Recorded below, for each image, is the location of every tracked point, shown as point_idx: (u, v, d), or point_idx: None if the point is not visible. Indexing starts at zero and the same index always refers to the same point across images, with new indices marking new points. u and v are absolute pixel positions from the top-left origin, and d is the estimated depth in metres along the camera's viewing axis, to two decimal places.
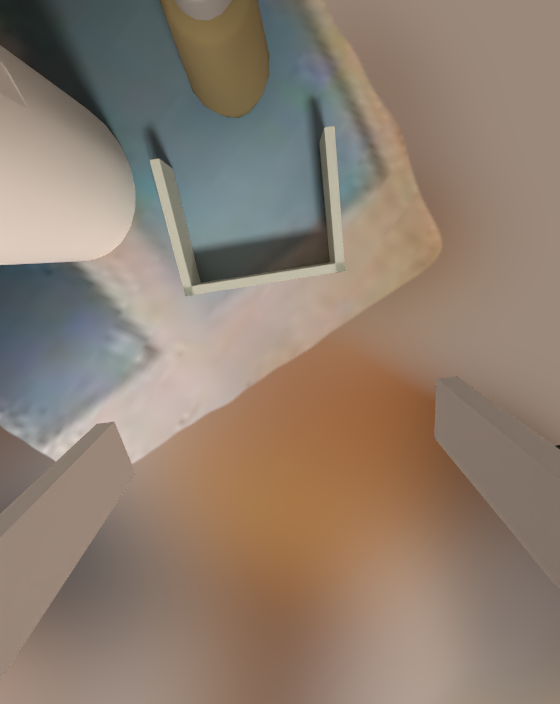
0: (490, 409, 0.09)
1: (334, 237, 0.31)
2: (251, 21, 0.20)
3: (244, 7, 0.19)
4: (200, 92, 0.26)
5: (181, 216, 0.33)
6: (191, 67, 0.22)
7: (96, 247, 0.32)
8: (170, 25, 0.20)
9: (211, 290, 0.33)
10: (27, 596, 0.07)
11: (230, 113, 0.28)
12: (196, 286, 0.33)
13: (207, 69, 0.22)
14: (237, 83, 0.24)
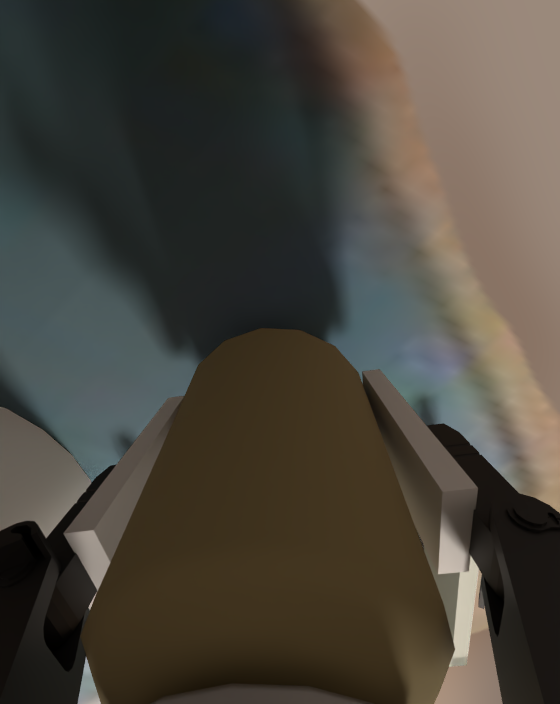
0: (391, 395, 0.10)
1: (456, 632, 0.17)
2: None
3: None
4: None
5: None
6: None
7: None
8: None
9: None
10: None
11: None
12: None
13: None
14: None
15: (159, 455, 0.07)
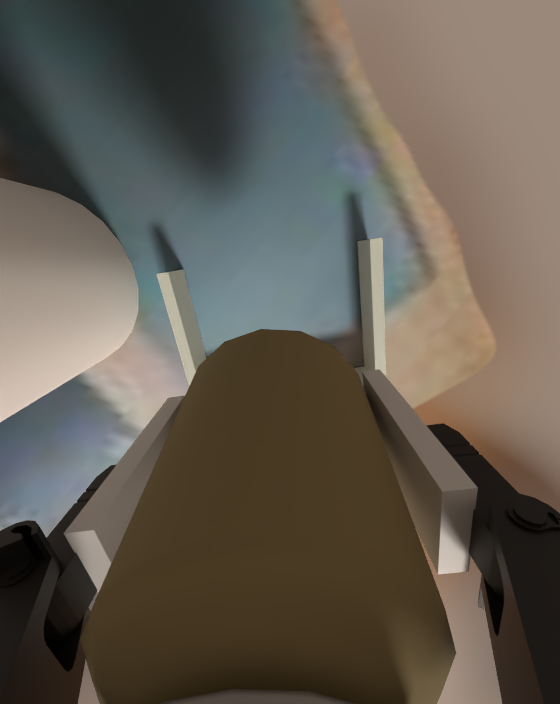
0: (391, 395, 0.10)
1: (376, 355, 0.26)
2: None
3: None
4: None
5: (193, 323, 0.28)
6: None
7: (93, 364, 0.27)
8: None
9: None
10: None
11: None
12: None
13: None
14: None
15: (159, 457, 0.07)
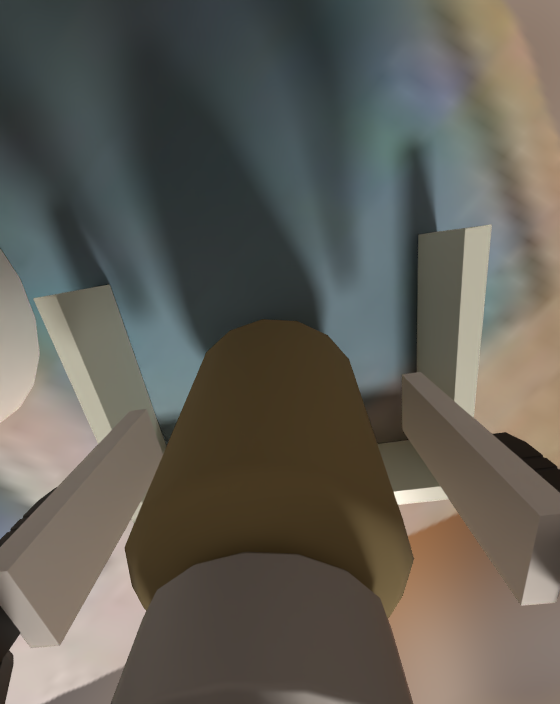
0: (443, 401, 0.09)
1: None
2: None
3: None
4: None
5: (128, 377, 0.16)
6: None
7: None
8: None
9: None
10: (84, 562, 0.08)
11: None
12: None
13: None
14: None
15: (178, 420, 0.08)
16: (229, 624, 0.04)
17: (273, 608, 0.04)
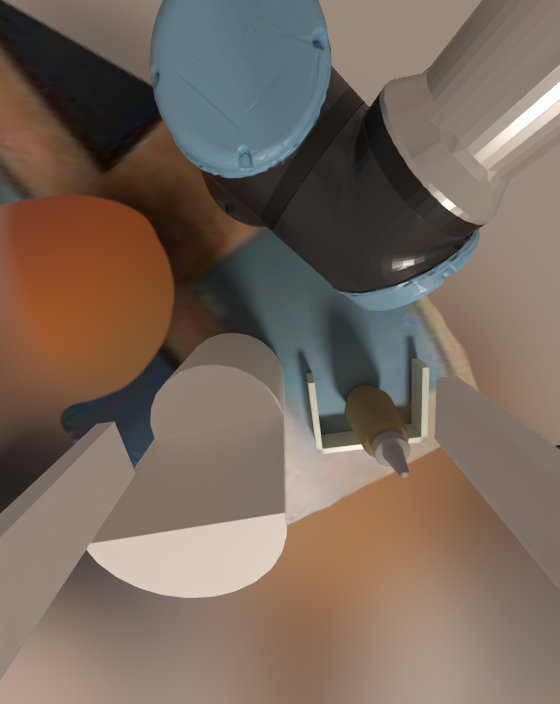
0: (490, 409, 0.08)
1: (422, 423, 0.47)
2: None
3: None
4: None
5: None
6: None
7: None
8: (365, 450, 0.40)
9: (335, 451, 0.49)
10: (27, 596, 0.07)
11: None
12: (325, 449, 0.49)
13: None
14: None
15: (362, 415, 0.41)
16: (390, 435, 0.36)
17: (394, 434, 0.37)
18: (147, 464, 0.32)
